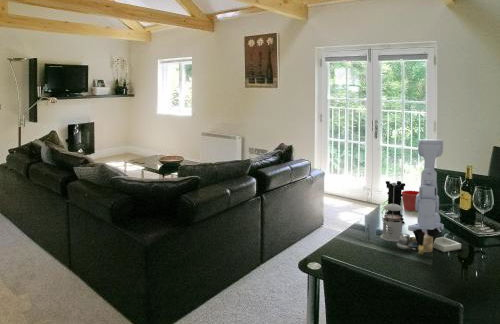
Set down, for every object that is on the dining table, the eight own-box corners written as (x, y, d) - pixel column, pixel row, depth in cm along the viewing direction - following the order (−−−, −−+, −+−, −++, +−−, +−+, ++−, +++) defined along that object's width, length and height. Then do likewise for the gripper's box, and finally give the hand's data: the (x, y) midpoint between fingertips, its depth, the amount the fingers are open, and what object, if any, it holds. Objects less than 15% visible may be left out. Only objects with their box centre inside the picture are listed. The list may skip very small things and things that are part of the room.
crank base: (404, 243, 166) (405, 235, 166) (427, 253, 155) (427, 245, 154) (393, 245, 164) (393, 237, 164) (415, 255, 153) (415, 247, 152)
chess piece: (404, 223, 193) (406, 184, 190) (388, 223, 193) (389, 184, 190) (398, 218, 201) (400, 180, 198) (383, 219, 201) (384, 180, 198)
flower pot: (396, 207, 222) (397, 191, 220) (412, 206, 225) (413, 189, 223) (409, 212, 212) (410, 195, 210) (426, 210, 215) (427, 193, 213)
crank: (402, 244, 160) (403, 235, 159) (397, 241, 164) (397, 232, 163) (427, 242, 162) (427, 233, 161) (421, 239, 166) (421, 230, 165)
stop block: (423, 252, 156) (424, 237, 155) (417, 248, 160) (418, 234, 159) (432, 251, 157) (433, 237, 156) (426, 247, 161) (426, 234, 160)
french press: (388, 242, 168) (391, 185, 164) (373, 233, 179) (375, 180, 175) (408, 240, 170) (411, 183, 166) (392, 231, 181) (394, 178, 178)
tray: (443, 241, 168) (443, 236, 167) (460, 248, 159) (461, 243, 159) (426, 244, 165) (427, 239, 164) (444, 252, 156) (444, 246, 156)
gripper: (416, 218, 151) (414, 251, 153) (449, 215, 154) (447, 248, 156) (405, 213, 158) (404, 245, 160) (438, 211, 161) (436, 242, 163)
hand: (424, 246), depth 158 cm, fingers closed on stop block, 4 cm apart
